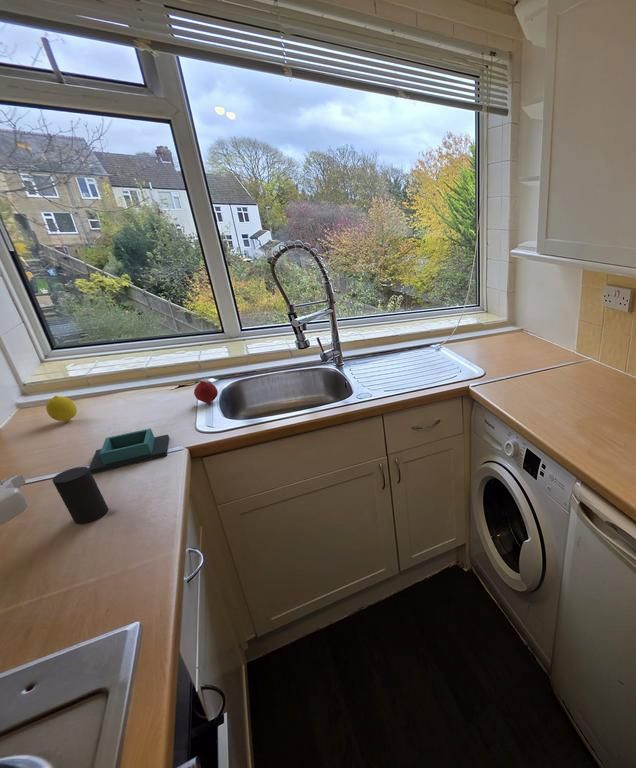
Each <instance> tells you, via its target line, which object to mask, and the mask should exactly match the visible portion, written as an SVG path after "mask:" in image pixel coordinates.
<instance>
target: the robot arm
mask: <svg viewBox="0 0 636 768" xmlns="http://www.w3.org/2000/svg"><path fill="white" fill-rule="evenodd" d="M25 484H26V479H25V478H24V476H23V475H22V474H16V475H8V476H6V477H5V478H2V479H1V480H0V485H1V486H0V527H1V526H3V525H5V524H6V523H8V522H9V521H11V520H13V519H14V518H16V517H17V516H19V515H21V514H22V513H23V512H25V511H26V510H27V508H28V501H27V500H26V496H25V495H24V494H23V493H22V491H21V490H20V488H22V487H23V486H25Z"/></svg>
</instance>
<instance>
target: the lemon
mask: <svg viewBox="0 0 636 768" xmlns="http://www.w3.org/2000/svg"><path fill="white" fill-rule="evenodd" d="M45 411H46V412H47V415H48V416H49V417H50V418H51V419H53V420H55V421H59V422H65V423H67V422H70V421H71V419H74V417H75V416H76V415H77V413H78V409H77V405H76V404H75V402H74V401H73V400H72V399H70V398H69V397H66V396H61V395H60V396H58V395H54V396H53V397H52V398H50V399H49V400H48V401H47V402H46V405H45Z"/></svg>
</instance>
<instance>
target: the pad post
mask: <svg viewBox="0 0 636 768" xmlns="http://www.w3.org/2000/svg"><path fill="white" fill-rule="evenodd" d="M51 481H52V483H53V485H54V487H55V488H56V490H57V492H58V494H59V496H60V498H61V499H62V501H63V503H64V505H65V507H66V509H67V511H68V512H69V515H70V516H71V518H72V520H73V522H74V523H75V524H78V525H83V524H89V523H92V522H95V521H97V520H100V519H101V518H102V517H104V516H106V514H107V513H108V512H109V507H108V505H107V502H106V500H105V499H104V497H103V494H102V492H101V490H100V488H99V486H98V484H97V482H96V480H95V478H94V476H93V474H91V472H90V469H89V467H87V466H78V467H73V468H69V469H66V470H64V471H61V472H60V473H57V474H56V475H55V476H53V478H52V480H51Z"/></svg>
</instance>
